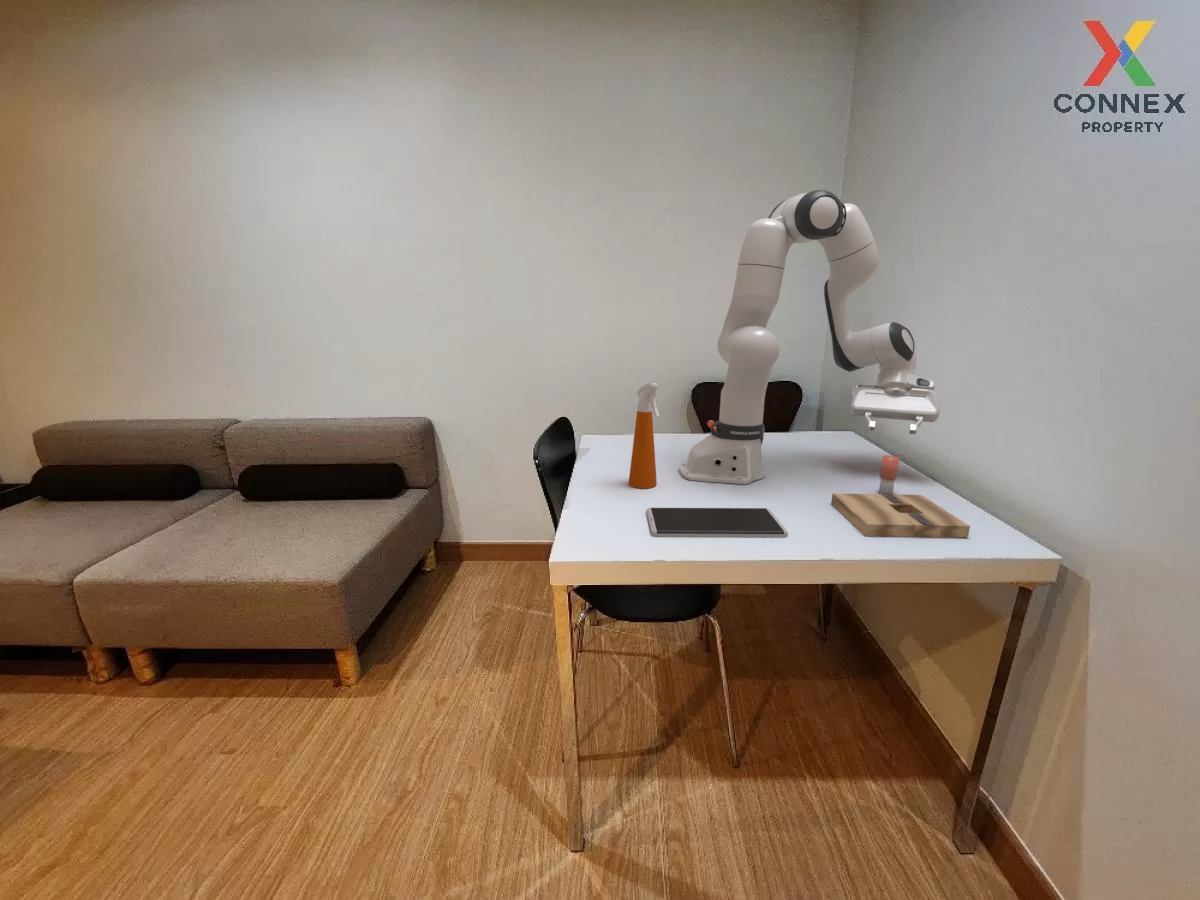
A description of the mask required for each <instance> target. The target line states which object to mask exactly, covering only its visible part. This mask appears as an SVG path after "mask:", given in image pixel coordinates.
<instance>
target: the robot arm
mask: <svg viewBox="0 0 1200 900" xmlns="http://www.w3.org/2000/svg"><path fill="white" fill-rule="evenodd" d="M813 241H817V242H818V243H819V244H820V245H821V246H822V248H823V250H824V253H825V257H826V260H827V262H828V265H829V275H828V276H829V277H828V279H827V280H826V281H825V283H824V286H823V295H824V296H823V297H824V303H825V309H826V315H827V320H828V325H829V331H830V336H831V344H832V345H831V346H832V354H833V361H834V363H835V365H836V366H838V368H840V369H842V370H843V371H847V372H849V373H850V372H851V373H852V372H854V371H855V372H856V371H858V370H861V369H864V368H866V367H870V366H874V365H878V368H879V373H878V375H877V379H876V380H877V381H876V385H872V384H867V385H865V384H858V385H855V386H854V387H852V388H851V391H850V392H851V393H850V396H851V398H852V399H851V404H850V412H849V413H850V414H851V415H852V416H854V417H863V420H864V421H865V423H866V425H867V431H875V427H876V421H872V419H871V418H874V419H875V418H877V419H887V420H899V421H900V420H901V421H902V420H903V421H912V422H914V424H910V426H909V433H908V434H909V435H917V432H918V428H919V427H920V426H921V425H922V423H923V422H924V423H925V422H926V423H935V422H936V421H937V420H938V419H939V416H940V411H941V410H940V409H941V408H940V400H939V399H940V398H939V396H938V395H939V394H938V393H937V392H936V391H935V388H936V383H935V382H934V380H931V379H928V378H923V377H922V376H921V377H920V376H918V375H916V374H915V369H916V366H917V349H916V348H917V347H916V344H915V341H914V337H913V335H912V333H911V331H910V330H909V329H908V328H907V327H906V326H904V325H903V324H901V323H898V322H895V321H892V322H886V323H884V324H880V325H876V326H873V327H870V328H866V329H863V330H860V331H859V330H858V331H856V332H854V331H851V329H850V326H849V325H850V324H849V318H848V314H847V307H846V301H847V299H848V298H849V297H850V295H851V294H853V293H854V292H855V291H856V290H858V289H859V288H861V287H862V286H863V285H864V284H865V283H867V282H868V280H870V279H871V278H872V276H873V275H874V273H876V270H877V269H878V266H879V262H880V256H879V255H880V254H879V249H878V246H877V242H876V241H875V238H874V235H873V233H872V230H871V228H870V225H869V224H868V222H867V220H866V217H865V216H864V214H863V213H862V211H861V210H860V208H859V207H858V206H857V205H856V204H854V203H849V202H848V203H843V202H842V201H841V200H840V199H839V197H838V196H837V195H836V194H834V193H833V192H831V191H829V190H825V189H814V190H811V191H808V192H802V193H798V194H795V195H794V196H792V197H790V198H788V199H787V198H786V199H785V200H782V201H781V202H780V203H778V204H777V205H776V206H775V207H774V208H773V210H771V212H770V213H769V215H768V216H767V218H760V219H758V220H755V221H753V223H751V224H750V226H749V227H748V229H747V231H746V233H745V236H744V239H743V243H742V247H741V250H740V254H739V259H738V263H737V268H736V269H737V270H736V275H735V281H734V286H733V291H732V296H731V301H730V304H729V307H728V311H727V313H726V315H725V319H724V321H723V322H724V323H723V325H722V329H721V333H720V335H719V336H718V338H717V342H716V343H717V346H716V347H717V351H718V354H719V355H720V357H721V359H722V360H723V361H724V362H725V363H727V364H728V365H727V366H728V367H727V372H726V376H725V381H724V384H723V387H722V389H721V391H720V404H719V419H718V420H717V421H714V420H712V419H710V420H709V419H708V421H707V423H706V424H707V426H708V428H710V434H709V435H708V436H706V437H705V438H704V439H702V440H701V441H699V442H698V443H696V444H695V445H692V447H691V449H690V450H689V453H688V457H687V461H683V462H682V463H680V465H679V468H678V472H679V475H680V476H681V477H683V478H684V479H686V480H689V481H696V482H698V481H699V482H710V483H711V482H712V483H724V484H725V483H726V484H735V485H736V484H737V485H748V484H751V482H754V481H758V480H761V479H763V478H765V476H766V475H765V471H764V464H763V457H762V456H763V454H762V444H764V443H763V441H764V437H765V423H763V421H764V411H765V398H766V392H767V388H768V384H769V380H770V379H771V373H772V371H773V367H774V364H775V363H776V362H777V361H778V358H779V355H780V351H781V350H780V348H781V347H780V344H779V341H778V339H777V337H776V336H775V334H773V332H771V331H770V330H768V329H767V326H768V323H769V320H770V318H771V316H772V313H773V311H774V310H775V308H776V307H777V304H778V303H779V299H780V298H779V297H780V292H781V289H782V283H783V277H784V272H785V267H786V261H787V256H788V252H789V250H790V249H791V247H792V245H793V244H804V243H805V244H806V243H810V242H813Z"/></svg>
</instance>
